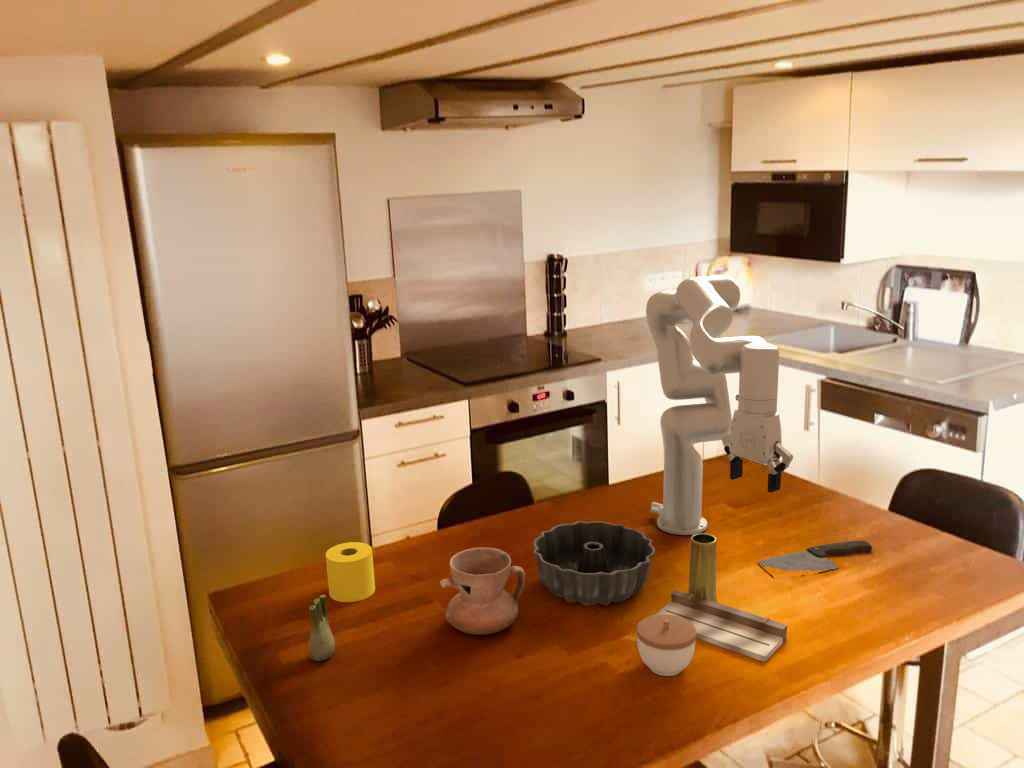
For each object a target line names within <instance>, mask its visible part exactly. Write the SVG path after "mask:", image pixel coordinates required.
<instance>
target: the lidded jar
mask: <svg viewBox="0 0 1024 768" xmlns="http://www.w3.org/2000/svg"><path fill="white" fill-rule="evenodd" d="M696 639H697V638H696V629H695V627H694V625H693V624H692V623H691V622H689V621H688V620H686V619H684V618H681V617H678V616H674V615H665V614H660V615H655V614H654V615H649V616H647V617H644V618H643V619H641V620H640V621H639V622H638V623H637V625H636V640H637V649H638V653H639V656H640V657H641V660H642V662H643V663H644V664H645V665H646V666H647V667H648V668H649V670H650V671H651V672H653V673H654V674H656V675H659V676H664V677H671V676H676V675H678V674H680V673H681V672H682V671H683V670H684V669H686V668H687V667H688V665H689V664H690V663H691V661H692V659H693V657H694V654H695V647H696Z"/></svg>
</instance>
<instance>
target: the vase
mask: <svg viewBox="0 0 1024 768" xmlns="http://www.w3.org/2000/svg"><path fill="white" fill-rule="evenodd" d="M689 552H690V553H689V554H690V555H689V573H688V575H689V577H688V594H694V595H695V596H697V597H700V598H703V599H707V600H710V601H713V602H716V603H718V602H717V601H718V599H717V537H716V536H715V535H713V534H709V533H703V532H701V533H698V534H693V535H691V536H690V551H689Z"/></svg>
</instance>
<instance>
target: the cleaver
mask: <svg viewBox="0 0 1024 768" xmlns="http://www.w3.org/2000/svg"><path fill="white" fill-rule="evenodd" d="M872 550H873V547H872V545H871V544H870V543H869V541H866V540H852V541H850V540H849V541H843V542H841V541H840V542H836V543H835V542H834V543H827V544H820V545H815V546H810V547H807V548H806V550H802V551H796V552H791V553H786V554H781V555H777V556H772V557H769V558H766V559H762V560H758V561H757V563H758V562H759V563H760V564H761V565H762V566H763V567H765V568H766V566H767V567H768V566H769V567H770V568H771V567H772V568H774V569H775V567H776V569H777V567H778V568H780V570H781V569H783V571H784V569H785V570H787V571H788V570H789V571H791V570H793V571H794V570H795V571H799V570H811V571H814V570H815V571H818V570H825V569H826V570H829V569H833V570H836V569H839V566H838V565H837V564H836V563H835V562H834V561H832V560H830V559H829V558H828V557H827V556H826V555H829V556H845V555H846V554H847V555H851V554H854V553H855V552H856V553H869V552H872ZM850 553H851V554H850ZM833 554H834V555H833ZM847 555H846V556H847ZM790 569H791V570H790ZM796 569H797V570H796Z"/></svg>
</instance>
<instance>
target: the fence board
mask: <svg viewBox="0 0 1024 768" xmlns="http://www.w3.org/2000/svg"><path fill="white" fill-rule="evenodd" d="M688 593H689V592H688ZM688 593H686V592H683V591H680V590H677V589H675V590H673V591H672V593H671V595H670V597H671V598H670V602H669V603H667V604H666V605H665V606H663V607H662V608H661V609H660V610H659V611H657V612H656V613H655V614H654V615H660V614H665V615H674V616H678V617H681V618H684V619H686V620H688V621H689V622H691V623H692V624H693V625H694V627H695V629H696V639H697V640H699V641H700V640H701V641H703V642H706V643H708V644H712V645H714V646H717V647H720V648H722V649H726V650H729V651H732V652H735V653H738V654H740V655H743V656H745V657H748V658H751V659H755V660H757V661H760V662H764V663H766V662H768V660H769V659H770V658H771V657H772V655H773V654H775V652H777V650H778V649H779V648H780V647H781V646H782V645H783V643H785V641H787V638H788V624H785V623H782V622H779V621H776V620H773V619H770V618H769V617H763V616H760V615H757V614H753V613H751V612H748V611H744V610H740V609H737V608H734V607H731V606H728V605H726V604H722V603H720V602H713V601H710V600H707V599H703V598H700V597H697V596H695V595H694V594H688Z"/></svg>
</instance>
